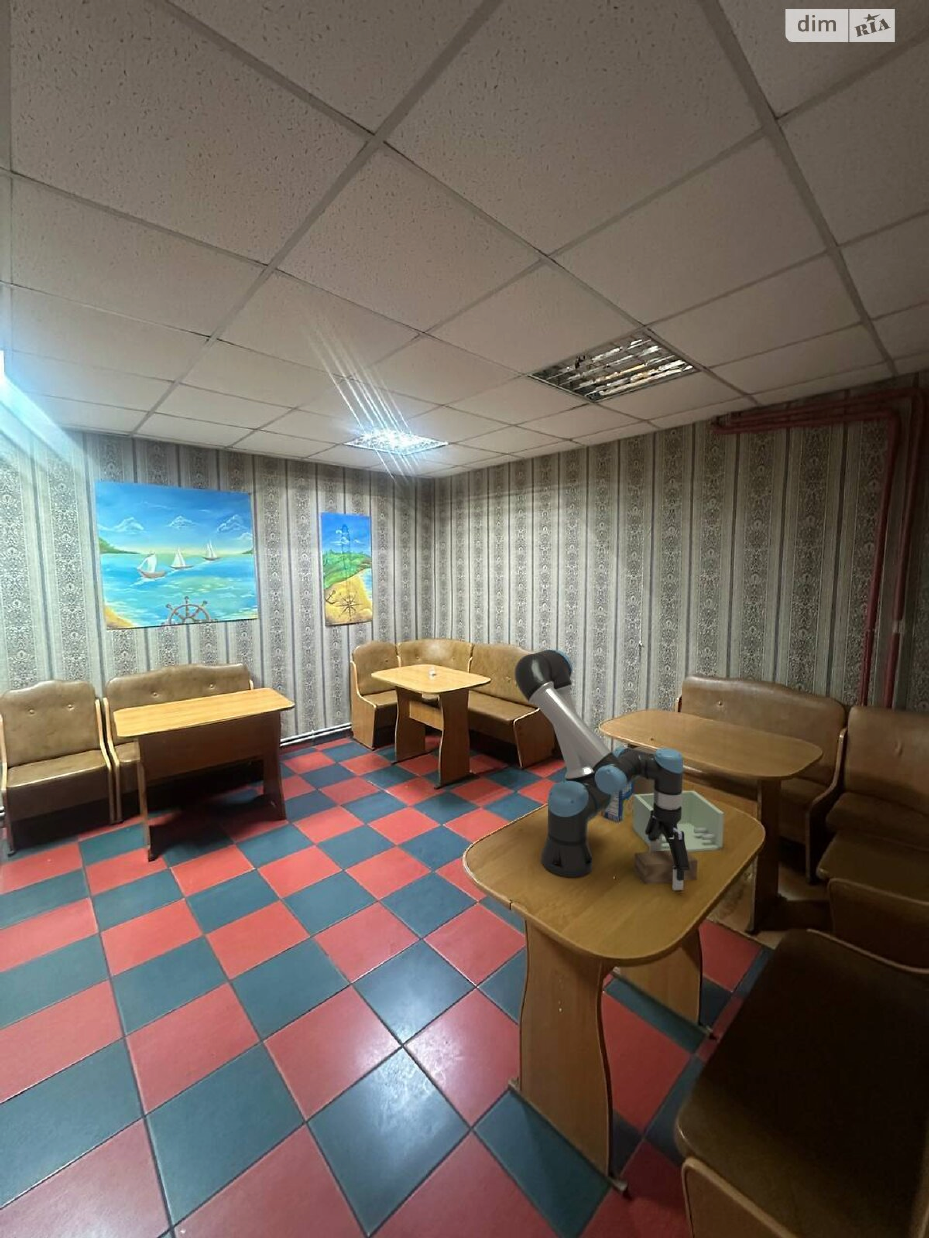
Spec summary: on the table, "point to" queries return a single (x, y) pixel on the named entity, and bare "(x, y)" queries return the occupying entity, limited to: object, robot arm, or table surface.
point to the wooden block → (640, 783)
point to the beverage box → (620, 804)
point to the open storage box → (684, 822)
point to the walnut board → (660, 867)
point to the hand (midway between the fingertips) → (665, 874)
